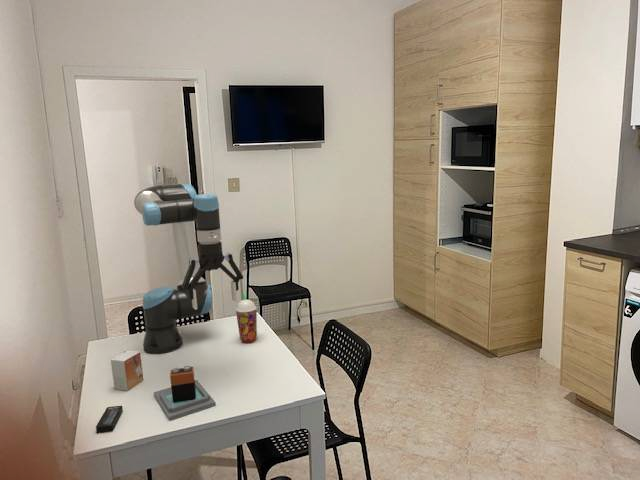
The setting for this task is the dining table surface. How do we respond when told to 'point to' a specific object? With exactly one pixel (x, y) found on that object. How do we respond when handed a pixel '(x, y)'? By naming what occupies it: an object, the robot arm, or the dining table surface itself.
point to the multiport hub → (109, 419)
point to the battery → (183, 384)
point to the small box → (127, 370)
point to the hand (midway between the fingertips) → (215, 304)
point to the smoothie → (247, 320)
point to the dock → (183, 402)
